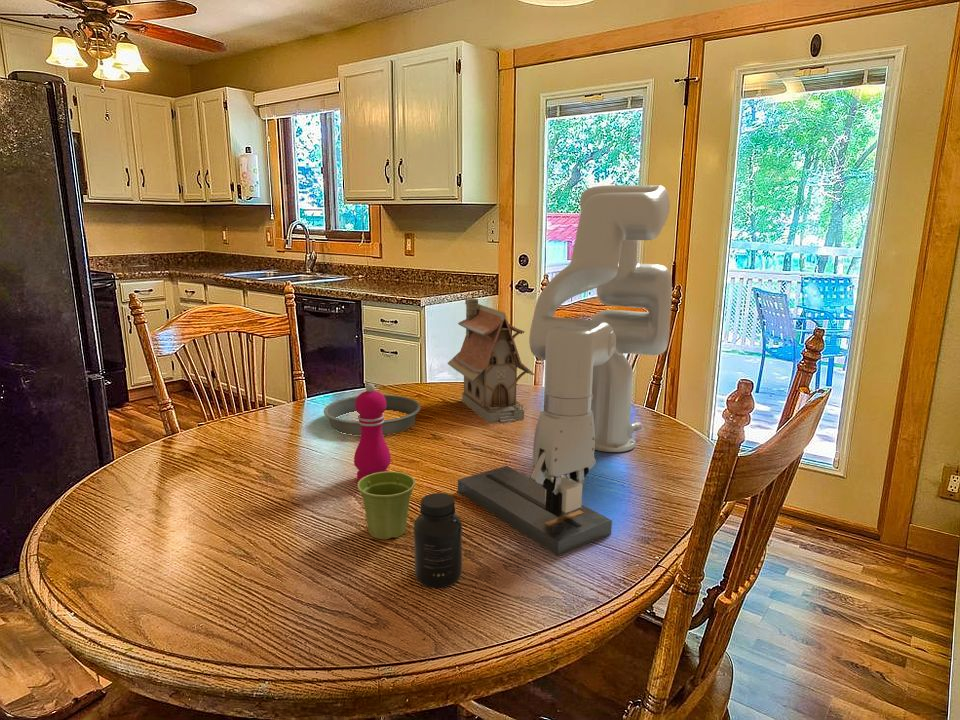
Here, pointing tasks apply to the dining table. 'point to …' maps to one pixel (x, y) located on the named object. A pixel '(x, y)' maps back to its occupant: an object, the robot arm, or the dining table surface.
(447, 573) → the supplement bottle
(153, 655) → the dining table surface
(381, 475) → the plant pot
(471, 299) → the miniature house
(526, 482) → the fader console
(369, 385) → the pepper mill
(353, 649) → the dining table surface
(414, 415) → the cake pan
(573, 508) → the fader knob
